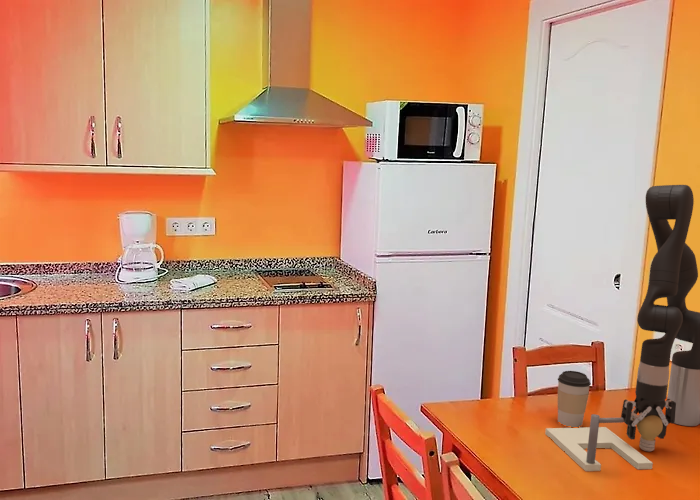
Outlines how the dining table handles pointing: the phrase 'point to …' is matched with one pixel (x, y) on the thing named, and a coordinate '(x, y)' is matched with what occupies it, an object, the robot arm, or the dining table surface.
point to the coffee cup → (572, 397)
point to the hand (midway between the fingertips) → (645, 438)
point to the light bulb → (649, 431)
